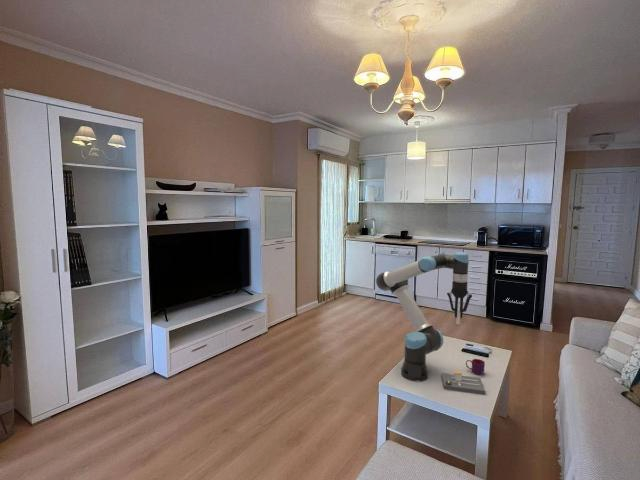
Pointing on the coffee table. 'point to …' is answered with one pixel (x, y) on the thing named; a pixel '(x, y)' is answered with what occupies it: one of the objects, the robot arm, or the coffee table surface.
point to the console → (463, 384)
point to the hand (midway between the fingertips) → (458, 323)
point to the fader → (458, 376)
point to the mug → (477, 366)
